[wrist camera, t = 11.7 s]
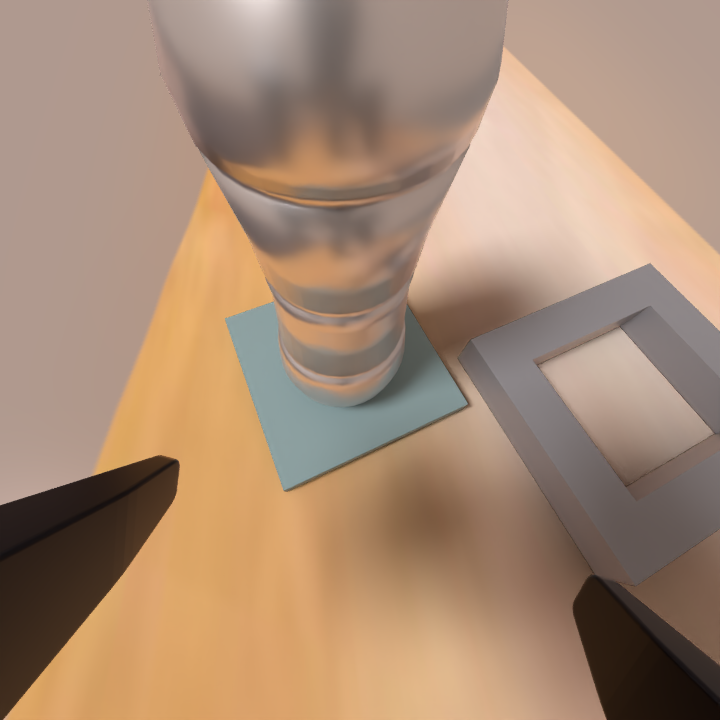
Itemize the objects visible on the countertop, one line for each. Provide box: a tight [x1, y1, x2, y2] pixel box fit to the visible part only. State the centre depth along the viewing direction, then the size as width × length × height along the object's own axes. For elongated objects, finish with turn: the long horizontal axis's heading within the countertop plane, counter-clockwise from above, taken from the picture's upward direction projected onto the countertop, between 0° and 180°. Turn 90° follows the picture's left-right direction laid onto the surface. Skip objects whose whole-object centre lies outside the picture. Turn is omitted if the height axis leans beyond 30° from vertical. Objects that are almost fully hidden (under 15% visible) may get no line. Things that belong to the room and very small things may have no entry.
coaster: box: [225, 302, 468, 492], centre depth 20 cm, size 11×11×1 cm
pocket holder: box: [458, 264, 720, 586], centre depth 19 cm, size 14×13×2 cm
